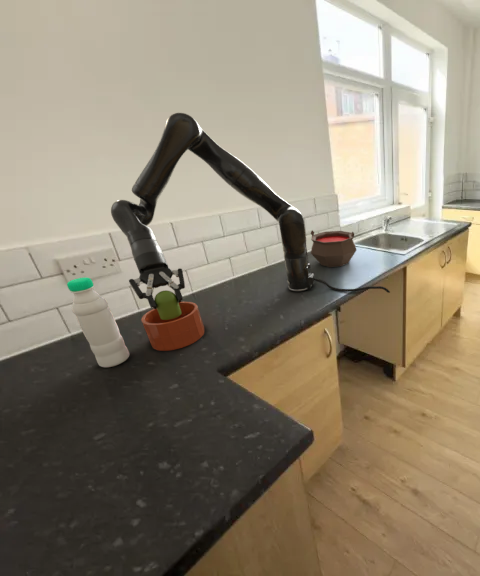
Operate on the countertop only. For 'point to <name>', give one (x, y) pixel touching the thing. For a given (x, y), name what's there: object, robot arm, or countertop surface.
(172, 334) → the pot
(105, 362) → the water bottle
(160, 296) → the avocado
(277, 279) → the countertop surface
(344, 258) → the brown cauldron
